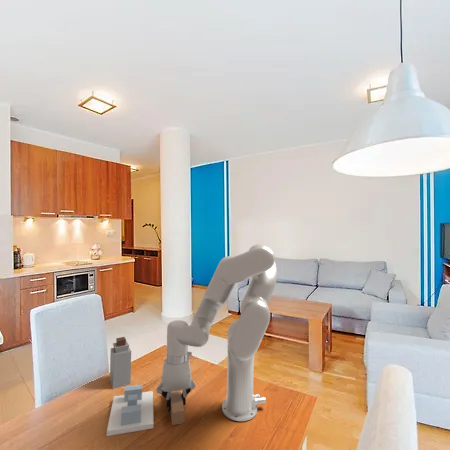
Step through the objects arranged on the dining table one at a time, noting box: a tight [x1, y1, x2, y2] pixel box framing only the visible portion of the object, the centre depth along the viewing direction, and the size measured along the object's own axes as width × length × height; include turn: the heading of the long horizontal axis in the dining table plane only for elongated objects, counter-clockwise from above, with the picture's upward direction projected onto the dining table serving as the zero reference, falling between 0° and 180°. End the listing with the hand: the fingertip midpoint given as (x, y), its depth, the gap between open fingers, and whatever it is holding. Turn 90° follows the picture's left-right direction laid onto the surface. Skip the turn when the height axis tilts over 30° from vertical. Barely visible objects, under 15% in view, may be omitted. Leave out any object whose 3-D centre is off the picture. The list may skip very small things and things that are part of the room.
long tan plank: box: [169, 390, 186, 426], centre depth 98 cm, size 4×16×4 cm, turn 16°
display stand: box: [106, 383, 154, 437], centre depth 95 cm, size 14×18×6 cm
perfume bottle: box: [109, 336, 132, 389], centre depth 114 cm, size 7×7×18 cm
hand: (175, 407), depth 98 cm, fingers closed on long tan plank, 4 cm apart
